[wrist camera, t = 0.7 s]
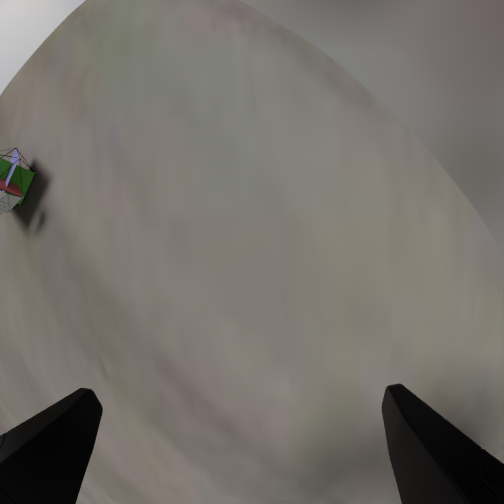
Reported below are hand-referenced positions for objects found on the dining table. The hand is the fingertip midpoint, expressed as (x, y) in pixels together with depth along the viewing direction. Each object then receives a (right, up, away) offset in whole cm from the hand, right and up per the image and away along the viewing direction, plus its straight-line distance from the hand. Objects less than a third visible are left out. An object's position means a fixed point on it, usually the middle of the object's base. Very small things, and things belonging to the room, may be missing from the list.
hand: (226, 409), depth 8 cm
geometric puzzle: (-26, +12, +19) cm, 34 cm away
